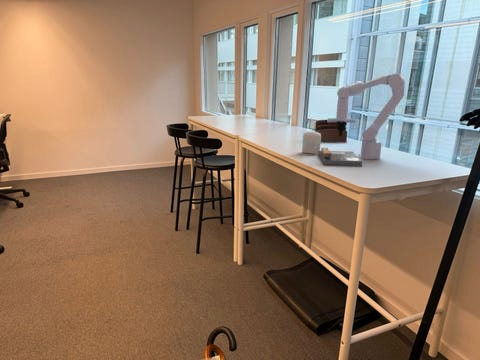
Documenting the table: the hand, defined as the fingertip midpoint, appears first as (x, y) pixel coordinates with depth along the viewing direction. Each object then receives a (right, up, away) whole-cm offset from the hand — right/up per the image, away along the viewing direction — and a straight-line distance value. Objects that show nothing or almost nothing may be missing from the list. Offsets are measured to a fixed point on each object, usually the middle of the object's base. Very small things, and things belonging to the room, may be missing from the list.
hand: (340, 135), depth 184 cm
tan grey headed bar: (-10, -11, -10) cm, 18 cm away
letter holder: (+6, +2, +43) cm, 43 cm away
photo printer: (-15, -9, +6) cm, 18 cm away
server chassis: (-4, -14, -11) cm, 18 cm away
